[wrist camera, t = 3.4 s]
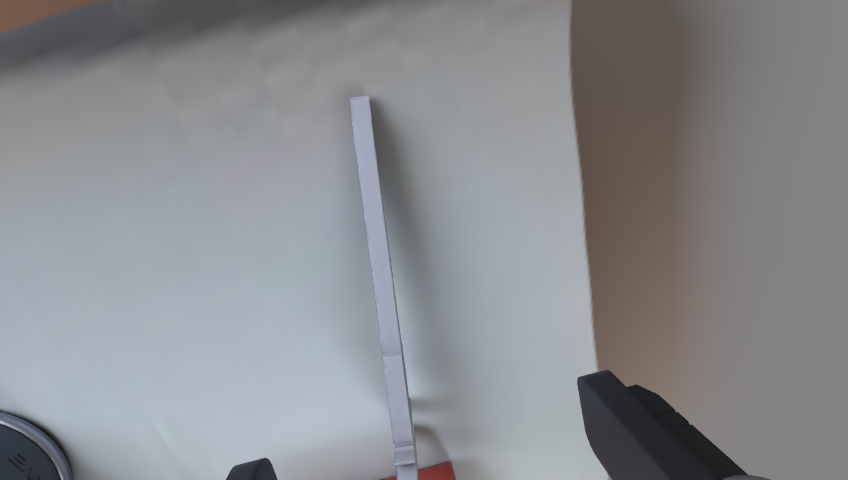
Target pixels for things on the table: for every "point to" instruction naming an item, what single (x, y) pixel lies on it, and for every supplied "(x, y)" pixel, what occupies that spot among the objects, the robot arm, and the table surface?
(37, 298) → the table surface
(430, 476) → the red rod
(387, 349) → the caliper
